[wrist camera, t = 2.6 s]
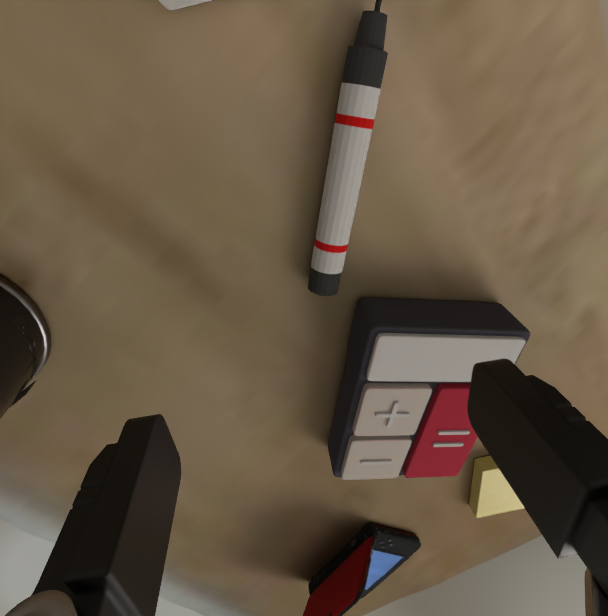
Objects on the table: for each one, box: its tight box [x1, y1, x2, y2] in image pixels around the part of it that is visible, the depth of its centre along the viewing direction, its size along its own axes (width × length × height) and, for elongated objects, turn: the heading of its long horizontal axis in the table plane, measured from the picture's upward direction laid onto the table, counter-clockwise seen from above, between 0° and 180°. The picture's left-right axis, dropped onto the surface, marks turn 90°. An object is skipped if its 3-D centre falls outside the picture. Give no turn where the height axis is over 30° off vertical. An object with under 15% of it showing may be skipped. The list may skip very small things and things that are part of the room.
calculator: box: [328, 298, 530, 480], centre depth 29 cm, size 11×4×15 cm
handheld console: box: [303, 523, 421, 616], centre depth 39 cm, size 12×11×7 cm
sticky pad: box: [469, 456, 524, 518], centre depth 38 cm, size 8×8×2 cm
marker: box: [308, 0, 388, 296], centre depth 21 cm, size 15×2×2 cm, turn 172°
